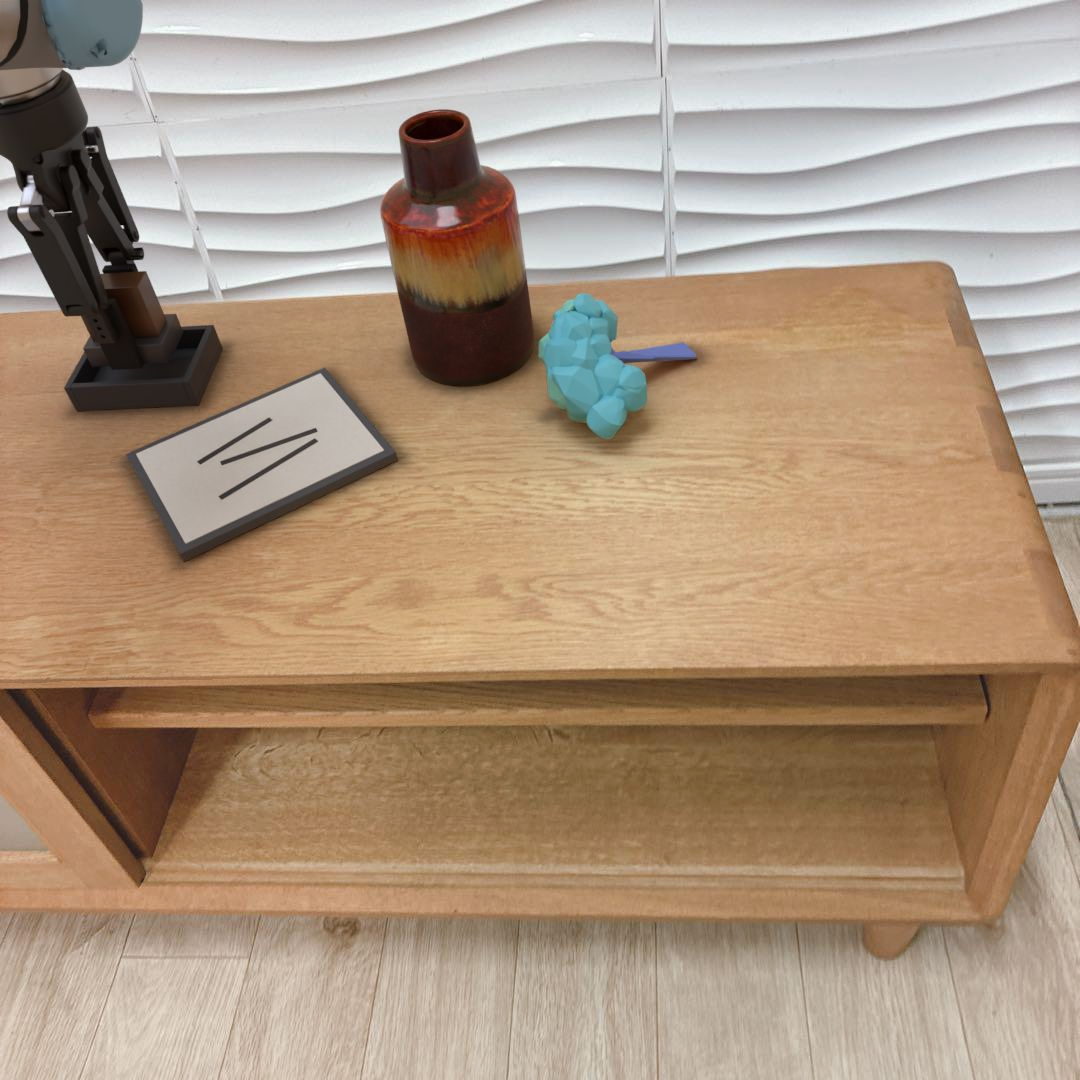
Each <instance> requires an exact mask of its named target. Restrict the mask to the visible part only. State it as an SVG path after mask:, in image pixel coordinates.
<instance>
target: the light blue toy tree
mask: <svg viewBox="0 0 1080 1080" xmlns="http://www.w3.org/2000/svg"><path fill="white" fill-rule="evenodd" d="M618 319H619V317H618V315H617V314H616V313H615V312H614V311H613V310H612V308H611V307H610V306H609V305H608V304H607V303H606V302H605V301H603V300H601V299H596V298H595V297H594V296H593V295H592V294H590V293H586V292H581V293H578V294H577V295H576V296H575V297H574V298H569V299H568V300H566V301H565V302H564V303H563V304H562V306H561V308H559V309H557V310H555V312H554V313H553V315H552V320H553V321H552V323H551V327H550V329H549V331H548V332H547V333H546V334H545V335H544V336H543V337H542V338H540V339H539V341H538V358H539V359H540V361H541V362H542V363H543V364H544V368H545V373H546V386H547V387H546V388H547V394H548V398H549V399H550V400H551V402H552V403H554V405H556V407H558V408H559V410H565V412H566V414H567V416H568V419H569V420H570V421H572V422H577V423H581V424H586V425H587V427H588V428H589V429H590V430H591V431H592V432H593V433H594V434H595V435H597V436H598V437H600V438H602V439H606V440H607V439H608V440H609V439H612V438H614V436H615V434H616V433H617V432H618V431H619V430H620V428H621V427H622V426H623V425H624V423H625V422H626V420H627V415H628V414H629V412H638V411H640V410H641V409H643V408H644V407H645V406H646V405H647V403H648V383H647V377H646V375H645V372H644V371H643V370H642V369H640V367H638V366H635V365H632V363H650V362H651V363H653V362H668V361H669V362H670V361H688V360H695V359H696V358H697V355H696V353H695V352H694V351H693V350H692V349H691V348H690V347H689V346H688V344H686V343H685V342H678V343H677V342H676V343H672V344H665V345H658V346H653V347H646V348H641V349H639V348H638V349H633V350H621V351H615V350H614V349H613V348H612V343H613V341H616V340H617V337H618ZM550 417H553V415H552V414H551V415H550Z"/></svg>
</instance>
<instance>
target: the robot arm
mask: <svg viewBox="0 0 1080 1080" xmlns="http://www.w3.org/2000/svg"><path fill="white" fill-rule="evenodd" d="M143 6H144V5H143V2H142V0H0V156H1V157H3V158H5V159H6V160H8V162H10V163H11V165H12V169H13V171H14V175H15V180H16V184H17V186H18V188H19V190H20V192H22V195H21V199H20V202H19V205H14V206H13V205H11V206H8V208H7V212H6V214H7V219H8V220H9V222H10V223H11V224H12V225H13V227H14V228H15V229H16V231H18V232H19V233H20V235H21V236H22V237H23V239H24V241H25V243H26V245H27V247H28V248H29V250H30V253H31V255H32V256H33V258H34V260H35V262H36V264H37V266H38V268H39V270H40V272H41V274H42V276H43V277H44V279H45V282H46V284H47V286H48V288H49V290H50V291H51V293H52V295H53V297H54V299H55V301H56V303H57V305H58V307H59V309H60V310H61V313H62V314H63V315H64V317H68V318H69V317H81V316H85V317H86V319H87V321H88V324H89V326H90V328H91V330H92V332H93V334H94V336H95V338H96V340H97V341H98V342H99V344H100V346H101V348H102V350H103V352H104V354H105V356H106V358H107V361H108V363H109V365H110V367H111V369H112V370H119V369H138V368H142V367H143V365H144V360H143V358H142V356H141V354H140V352H139V350H138V347H137V345H136V343H135V340H134V338H133V336H132V334H131V332H130V330H129V327H128V325H127V323H126V321H125V319H124V316H123V314H122V312H121V310H120V308H119V306H118V303H117V301H116V299H108V296H107V293H106V290H105V287H104V284H103V281H102V278H101V275H100V274H101V272H102V274H106V273H123V272H139V269H138V267H137V265H136V263H135V261H143V260H144V258H145V250H144V248H143V246H142V247H134V245H133V244H134V243H138V242H139V241H140V233H139V230H138V228H137V225H136V222H135V220H134V218H133V215H132V213H131V210H130V208H129V205H128V202H127V201H126V198H125V195H124V193H123V191H122V189H121V186H120V184H119V181H118V179H117V176H116V173H115V172H114V171H115V170H114V169H113V167H112V164H111V162H110V158H109V157H108V154H107V149H106V146H105V142H104V138H103V133H102V131H101V128H100V127H99V126H96V125H94V126H88V123H89V115H88V112H87V110H86V108H85V107H86V106H85V105H84V102H83V99H82V97H81V95H80V93H79V91H78V90H79V89H78V88H77V86H76V84H75V80H74V79H73V76H72V74H70V73H69V72H68V71H66V70H65V69H68V70H71V71H82V70H84V69H86V68H101V67H112V66H115V65H118V64H120V63H122V62H124V61H125V60H126V59H128V57H130V55H131V54H132V53H133V51H134V50H135V48H136V47H137V45H138V42H139V40H140V37H141V33H142V27H143V18H144V16H143V15H144V13H143V12H144V7H143ZM122 226H123V227H122ZM91 242H92V244H93V245H94V247H95V248H96V250H97V251H98V253H99V255H100V256H101V258H102V259H103V261H104V262H105V263H110V264H107V265H106V264H105V265H104V266H103V268H102V270H101V272H100V268H99V266H98V262H97V259H96V256H95V254H94V253H95V252H94V251H93V247H92V244H91Z"/></svg>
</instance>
